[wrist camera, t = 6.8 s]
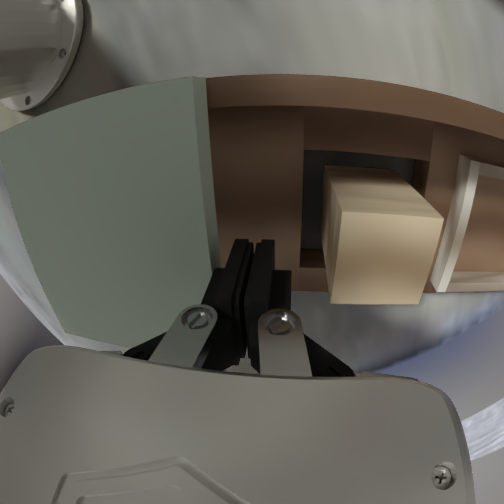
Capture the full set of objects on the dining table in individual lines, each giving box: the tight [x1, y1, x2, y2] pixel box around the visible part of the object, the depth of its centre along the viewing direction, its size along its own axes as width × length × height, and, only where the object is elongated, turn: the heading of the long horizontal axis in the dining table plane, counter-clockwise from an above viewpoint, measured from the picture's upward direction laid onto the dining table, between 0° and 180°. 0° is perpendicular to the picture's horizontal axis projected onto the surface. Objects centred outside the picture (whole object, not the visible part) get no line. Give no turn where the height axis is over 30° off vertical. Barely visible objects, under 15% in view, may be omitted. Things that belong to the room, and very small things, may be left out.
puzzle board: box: [206, 74, 504, 293], centre depth 16 cm, size 14×34×8 cm, turn 92°
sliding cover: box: [0, 76, 222, 348], centre depth 12 cm, size 13×11×2 cm
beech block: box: [320, 165, 444, 304], centre depth 16 cm, size 5×5×8 cm
